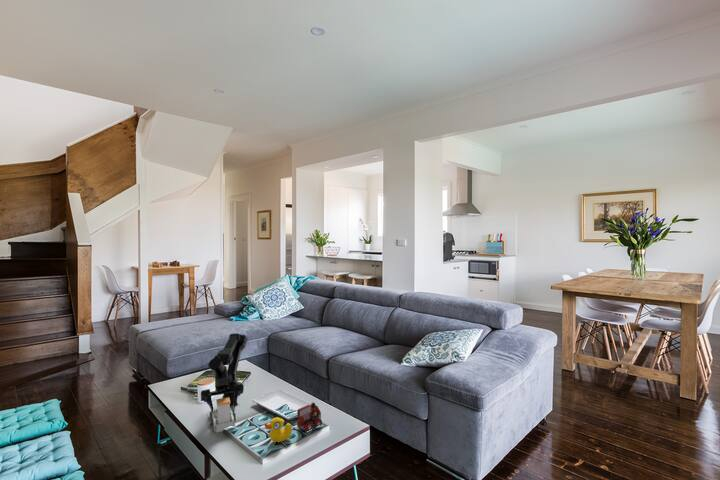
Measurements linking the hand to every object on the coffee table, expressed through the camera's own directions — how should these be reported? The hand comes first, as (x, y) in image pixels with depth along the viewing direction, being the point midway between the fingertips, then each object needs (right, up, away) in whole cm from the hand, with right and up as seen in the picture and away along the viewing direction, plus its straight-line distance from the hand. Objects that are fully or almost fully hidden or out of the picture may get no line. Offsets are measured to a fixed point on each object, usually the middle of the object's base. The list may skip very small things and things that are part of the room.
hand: (223, 410), depth 171 cm
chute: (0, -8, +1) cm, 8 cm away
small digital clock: (-2, -8, +5) cm, 10 cm away
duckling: (+28, -8, -12) cm, 31 cm away
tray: (+23, -8, +18) cm, 31 cm away
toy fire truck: (+39, -7, -1) cm, 40 cm away
